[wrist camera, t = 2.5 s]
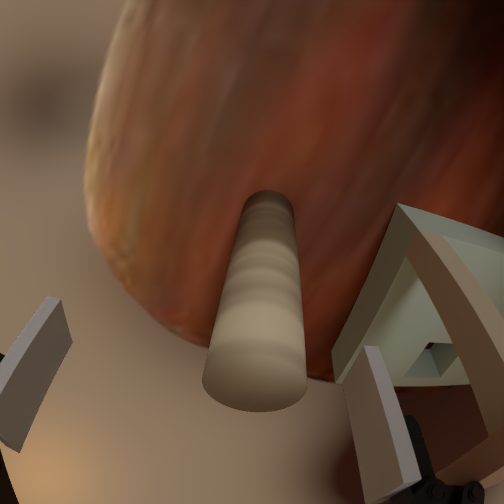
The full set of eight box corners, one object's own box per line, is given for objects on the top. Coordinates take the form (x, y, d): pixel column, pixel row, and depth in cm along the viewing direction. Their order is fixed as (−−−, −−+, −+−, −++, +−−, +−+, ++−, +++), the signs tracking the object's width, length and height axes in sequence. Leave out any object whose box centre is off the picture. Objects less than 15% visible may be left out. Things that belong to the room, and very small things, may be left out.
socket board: (396, 202, 20) (417, 228, 17) (532, 249, 21) (553, 271, 17) (331, 351, 29) (335, 383, 25) (461, 359, 29) (471, 384, 26)
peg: (246, 185, 21) (205, 346, 9) (298, 195, 21) (321, 364, 9) (239, 231, 23) (199, 403, 11) (287, 240, 23) (291, 416, 11)
